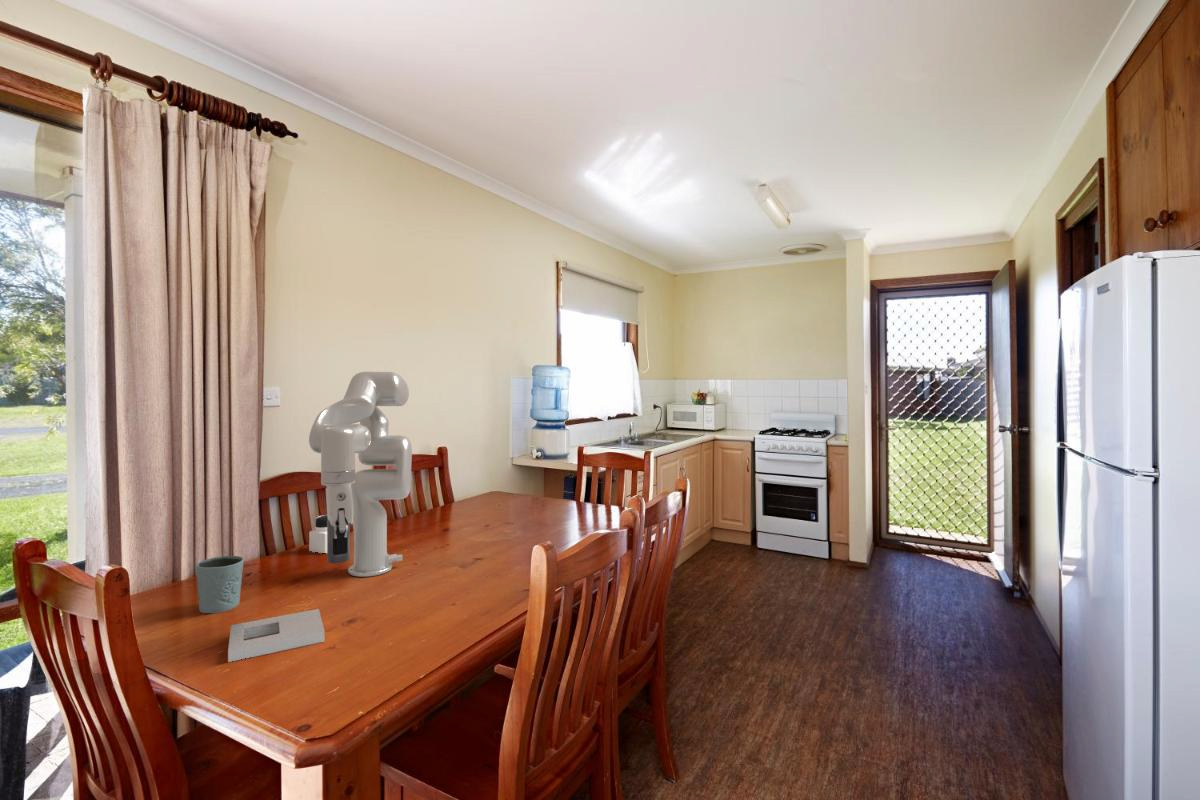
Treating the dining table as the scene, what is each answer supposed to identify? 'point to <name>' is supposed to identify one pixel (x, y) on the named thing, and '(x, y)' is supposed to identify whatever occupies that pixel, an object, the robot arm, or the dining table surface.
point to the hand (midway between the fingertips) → (338, 550)
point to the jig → (291, 634)
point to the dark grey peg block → (330, 536)
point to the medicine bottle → (319, 535)
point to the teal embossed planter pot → (219, 583)
